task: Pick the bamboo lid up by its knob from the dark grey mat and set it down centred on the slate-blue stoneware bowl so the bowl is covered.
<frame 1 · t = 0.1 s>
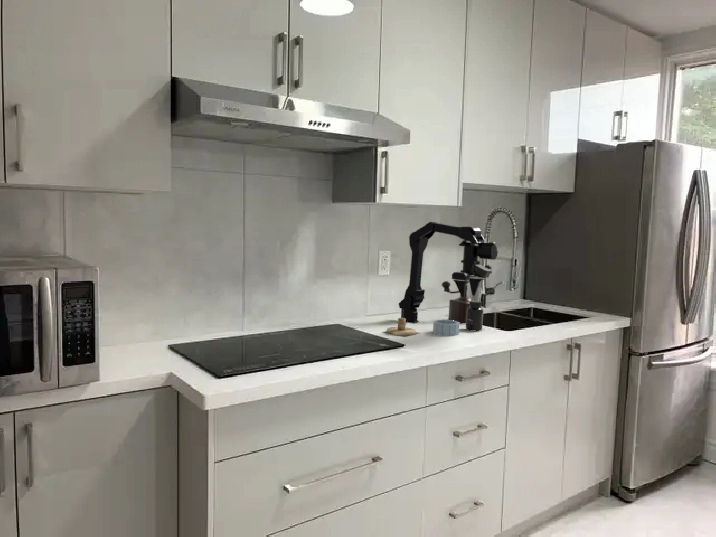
hand: (468, 296, 222), 15 cm above the countertop, tool pointing down, fingers open, 9 cm apart
manual coffee grinder: (459, 321, 248), on the countertop
lid: (401, 332, 214), point 1 cm above the countertop, touching mat
bowl: (445, 334, 217), on the countertop
supplement bottle: (473, 330, 229), on the countertop
mat: (401, 334, 214), on the countertop
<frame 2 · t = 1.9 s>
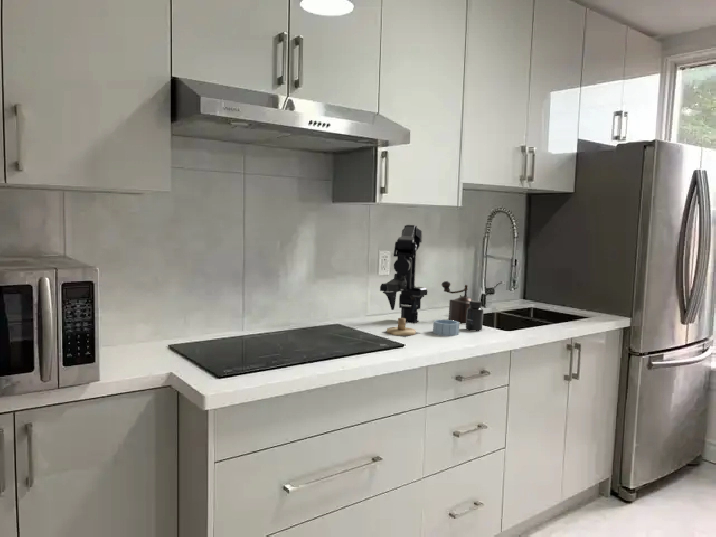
hand: (402, 311, 213), 9 cm above the countertop, tool pointing down, fingers open, 9 cm apart
nothing on the countertop moved.
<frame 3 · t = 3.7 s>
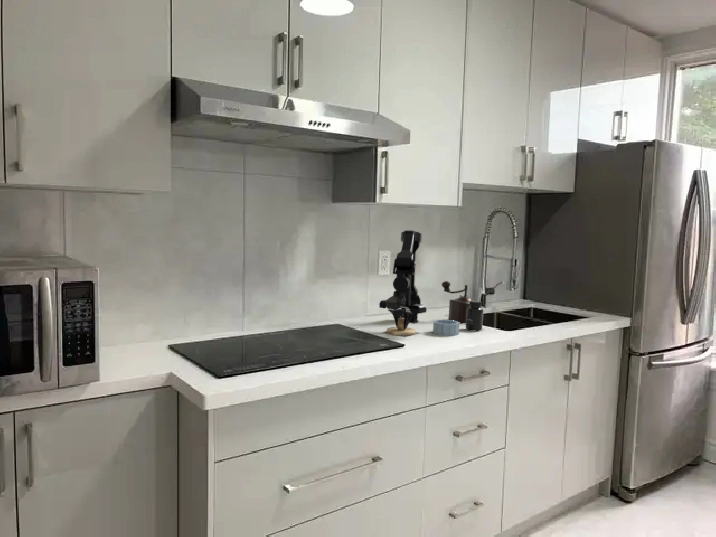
hand: (401, 328, 214), 2 cm above the countertop, tool pointing down, fingers closed on lid, 3 cm apart
lid: (401, 332, 214), point 1 cm above the countertop, touching gripper, mat
everything else where it was.
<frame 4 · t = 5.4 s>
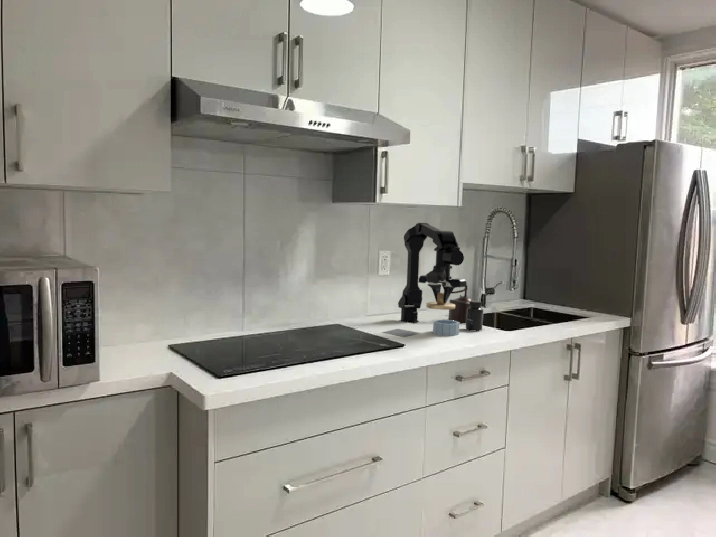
hand: (441, 302, 215), 13 cm above the countertop, tool pointing down, fingers closed on lid, 3 cm apart
lid: (440, 307, 215), point 11 cm above the countertop, touching gripper
everything else where it was.
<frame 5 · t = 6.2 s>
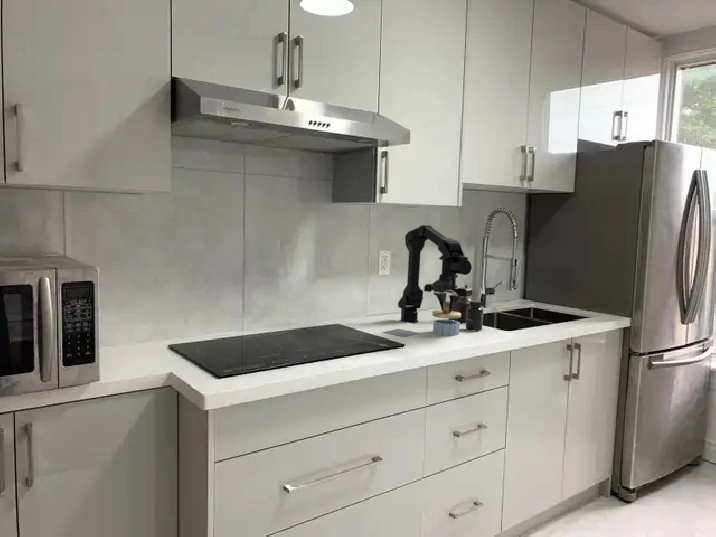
hand: (446, 311, 216), 9 cm above the countertop, tool pointing down, fingers closed on lid, 3 cm apart
lid: (446, 315, 216), point 7 cm above the countertop, touching gripper
everything else where it was.
when the fingers open (8 cm above the countertop, at t = 7.0 s): lid drops 2 cm, resting on bowl.
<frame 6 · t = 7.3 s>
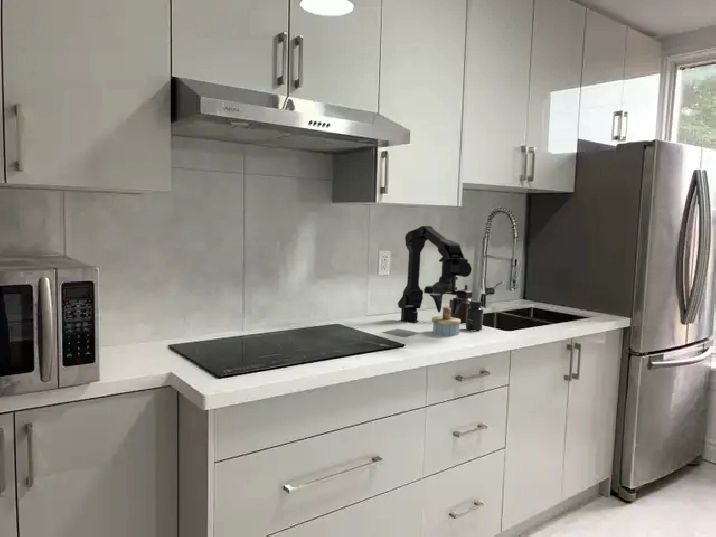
hand: (446, 313, 216), 8 cm above the countertop, tool pointing down, fingers open, 7 cm apart
lid: (446, 321, 216), point 5 cm above the countertop, touching bowl
everything else where it was.
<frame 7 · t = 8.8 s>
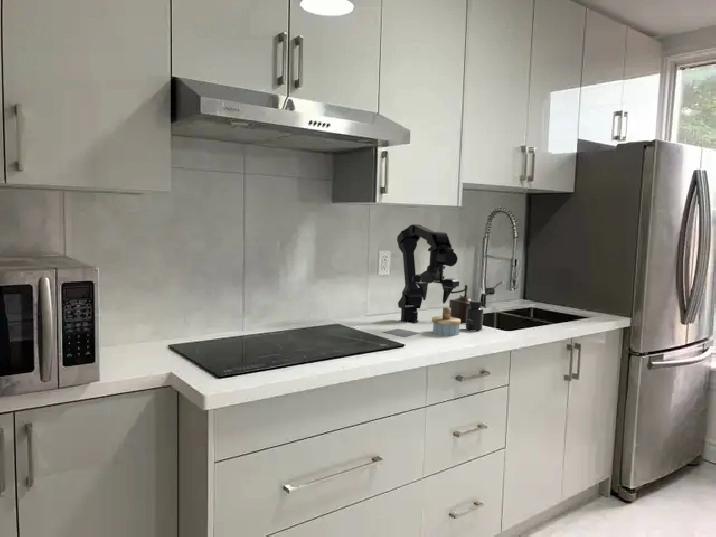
hand: (434, 301, 222), 12 cm above the countertop, tool pointing down, fingers open, 9 cm apart
nothing on the countertop moved.
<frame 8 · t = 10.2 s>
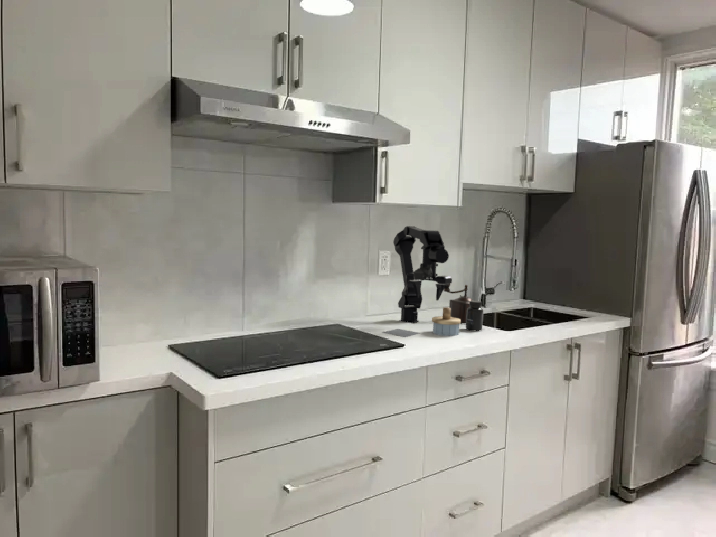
hand: (427, 299, 225), 13 cm above the countertop, tool pointing down, fingers open, 9 cm apart
nothing on the countertop moved.
at the end: lid 0.1 cm off-centre on the bowl, point 5.0 cm above the bowl's base; lid tilted 0°; the gripper is holding nothing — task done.
